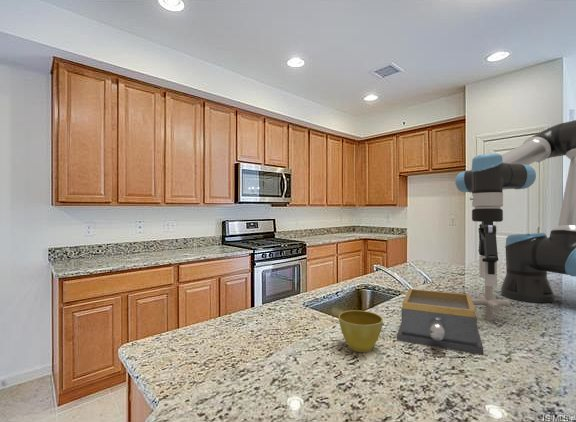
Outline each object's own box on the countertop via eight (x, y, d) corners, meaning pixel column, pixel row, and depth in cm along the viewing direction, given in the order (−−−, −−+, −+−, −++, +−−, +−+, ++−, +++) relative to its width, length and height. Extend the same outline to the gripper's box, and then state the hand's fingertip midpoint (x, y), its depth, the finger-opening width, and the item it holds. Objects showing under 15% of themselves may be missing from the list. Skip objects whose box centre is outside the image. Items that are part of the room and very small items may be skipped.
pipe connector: (518, 327, 82) (517, 290, 82) (477, 324, 84) (476, 288, 84) (500, 314, 91) (499, 281, 92) (464, 313, 93) (463, 280, 94)
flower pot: (391, 347, 71) (390, 316, 71) (369, 362, 64) (368, 328, 64) (354, 335, 78) (353, 307, 78) (330, 348, 71) (330, 317, 71)
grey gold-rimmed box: (475, 326, 82) (475, 293, 82) (485, 362, 63) (484, 319, 63) (405, 317, 91) (404, 287, 91) (394, 346, 71) (394, 308, 71)
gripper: (468, 209, 101) (469, 272, 100) (475, 207, 78) (476, 288, 78) (495, 208, 97) (496, 274, 97) (511, 206, 75) (512, 292, 75)
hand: (487, 281), depth 88 cm, fingers open, 13 cm apart
